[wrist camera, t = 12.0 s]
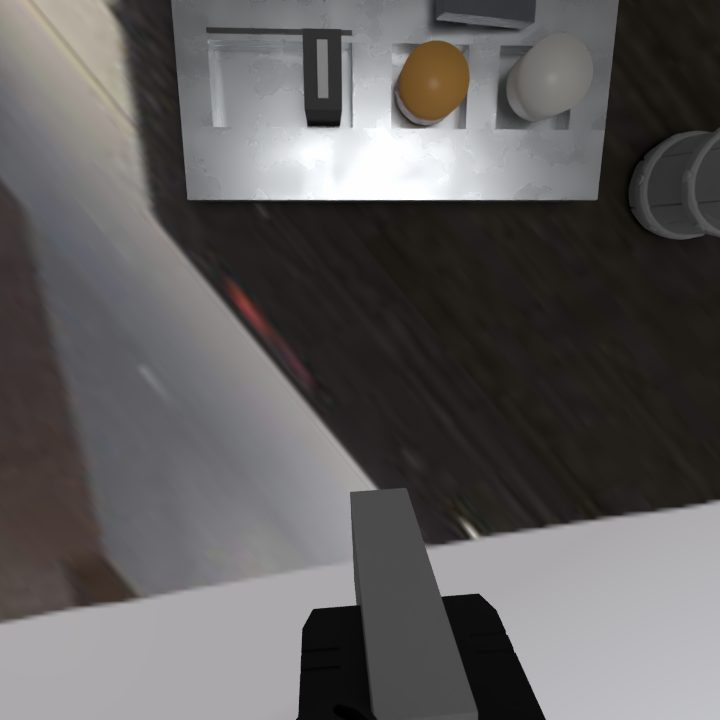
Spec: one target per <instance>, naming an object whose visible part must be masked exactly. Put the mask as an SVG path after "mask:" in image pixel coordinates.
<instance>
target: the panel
mask: <svg viewBox="0 0 720 720" xmlns="http://www.w3.org/2000/svg"><path fill="white" fill-rule="evenodd" d="M618 2H619V0H536V10H535V22H534V23H533V24H531V25H530V26H528V27H526V28H525V29H516V28H507V27H498V26H488V25H479V24H470V23H461V22H451V21H442V20H436V0H171V4H172V16H173V28H174V40H175V53H176V65H177V77H178V89H179V101H180V113H181V125H182V138H183V150H184V162H185V174H186V186H187V198H188V200H191V201H197V202H581V201H592V200H597V197H598V187H599V178H600V169H601V159H602V150H603V141H604V132H605V122H606V113H607V104H608V95H609V85H610V76H611V67H612V58H613V48H614V39H615V30H616V20H617V11H618ZM302 28H312V29H341V41H342V115H341V122H340V126H307V120H306V115H305V109H304V72H303V35H302ZM554 34H568V35H571V36H574V37H576V38H577V39H579V40H580V41H581V42H582V43H583V44H584V45H585V46H586V48H587V49H588V51H589V53H590V56H591V59H592V63H593V76H592V81H591V84H590V87H589V89H588V91H587V93H586V95H585V96H584V97H583V99H582V100H581V101H580V102H579V103H578V104H577V105H575V106H574V107H572V108H570V109H568V110H566V111H564V112H562V113H560V114H558V115H556V116H553V117H551V118H549V119H547V120H544V121H540V122H532V121H528V120H525V119H523V118H521V117H520V116H518V115H517V114H516V113H515V112H514V111H513V109H512V108H511V106H510V104H509V101H508V98H507V92H506V85H507V79H508V76H509V73H510V71H511V69H512V67H513V66H514V64H515V63H516V62H517V61H518V60H519V59H520V58H521V57H522V56H523V55H524V54H526V53H527V52H528V51H529V50H530V49H531V48H533V47H534V46H535V45H536V44H537V43H538V42H540V41H541V40H542V39H544V38H546V37H548V36H550V35H554ZM433 40H440V41H445V42H448V43H450V44H452V45H454V46H455V47H456V48H458V49H459V51H460V52H461V53H462V54H463V56H464V57H465V59H466V61H467V64H468V67H469V73H470V82H469V88H468V91H467V94H466V96H465V98H464V99H463V101H462V102H461V104H460V105H459V106H458V107H457V108H456V109H455V110H453V111H452V112H451V113H450V114H449V115H448V116H447V117H446V118H444V119H443V120H442V121H440V122H438V123H435V124H431V125H421V124H417V123H414V122H412V121H411V120H409V119H408V118H407V117H406V116H405V115H404V114H403V113H402V111H401V110H400V108H399V106H398V103H397V100H396V92H395V90H396V82H397V79H398V76H399V74H400V72H401V70H402V68H403V66H404V64H405V62H406V60H407V58H408V56H409V55H410V54H411V52H412V51H413V50H414V49H415V48H416V47H418V46H419V45H421V44H423V43H425V42H428V41H433Z"/></svg>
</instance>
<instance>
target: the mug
mask: <svg viewBox="0 0 720 720" xmlns="http://www.w3.org/2000/svg"><path fill="white" fill-rule="evenodd" d="M629 204H630V207H633V208H631V211H632V213H633V214H634V216H635V217H636V219H637V220H638V221H639V222H640V224H641V225H642V226H643V227H644V228H645V229H647V230H649V231H651V232H653V233H655V234H657V235H659V236H662V237H666V238H670V239H690V238H694V237H700V236H702V235H704V234H709V235H713V236H718V237H720V128H718V129H717V130H716V131H715V132H712V133H710V132H705V131H690V132H684V133H680V134H675V135H673V136H671V137H670V138H668V139H666V140H664V141H663V142H661V143H660V144H659V145H657V146H656V147H654V148H653V149H651V150H650V151H649V152H648V153H647V154H646V155H645V156H644V161H640V162H639V163H638V164H637V166H636V168H635V170H634V172H633V175H632V178H631V182H630V185H629Z"/></svg>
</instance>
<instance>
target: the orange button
mask: <svg viewBox="0 0 720 720" xmlns="http://www.w3.org/2000/svg"><path fill="white" fill-rule="evenodd" d="M469 82H470V73H469V67H468V64H467V61H466V59H465V57H464V56H463V54H462V53H461V52H460V51H459V49H458V48H456V47H455V46H454V45H452V44H450V43H448V42H445V41H440V40H433V41H428V42H425V43H423V44H421V45H419V46H418V47H416V48H415V49H414V50H413V51H412V52H411V54H410V55H409V56H408V58H407V60H406V62H405V64H404V66H403V68H402V70H401V72H400V74H399V76H398V79H397V82H396V90H395V92H396V100H397V103H398V106H399V108H400V110H401V111H402V113H403V114H404V115H405V116H406V117H407V118H408V119H409V120H411V121H412V122H414V123H417V124H421V125H431V124H435V123H438V122H440V121H442V120H443V119H444V118H446V117H447V116H448V115H449V114H450V113H451V112H452V111H453V110H455V109H456V108H457V107H458V106H459V105H460V104H461V102H462V101H463V99H464V98H465V96H466V94H467V91H468V88H469Z"/></svg>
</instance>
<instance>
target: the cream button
mask: <svg viewBox="0 0 720 720" xmlns="http://www.w3.org/2000/svg"><path fill="white" fill-rule="evenodd" d="M592 76H593V63H592V59H591V56H590V53H589V51H588V49H587V48H586V46H585V45H584V44H583V43H582V42H581V41H580V40H579V39H577V38H576V37H574V36H571V35H568V34H554V35H550V36H548V37H546V38H544V39H542V40H541V41H540V42H538V43H537V44H536V45H535V46H534V47H533V48H531V49H530V50H529V51H528V52H527V53H526V54H524V55H523V56H522V57H521V58H520V59H519V60H518V61H517V62H516V63H515V64H514V66H513V67H512V69H511V71H510V73H509V76H508V79H507V85H506V92H507V98H508V101H509V104H510V106H511V108H512V109H513V111H514V112H515V113H516V114H517V115H518V116H520V117H521V118H523V119H525V120H528V121H532V122H540V121H544V120H547V119H549V118H551V117H553V116H556V115H558V114H560V113H562V112H564V111H566V110H568V109H570V108H572V107H574V106H575V105H577V104H578V103H579V102H580V101H581V100H582V99H583V97H584V96H585V95H586V93H587V91H588V89H589V87H590V84H591V81H592Z"/></svg>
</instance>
